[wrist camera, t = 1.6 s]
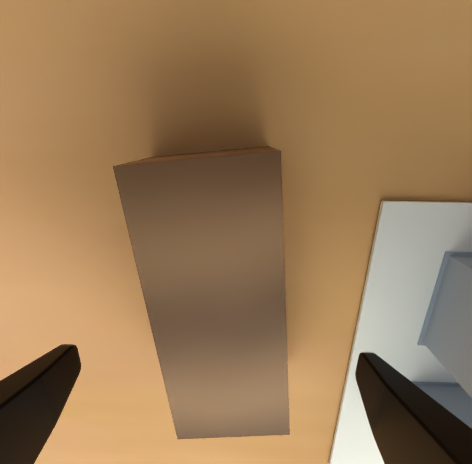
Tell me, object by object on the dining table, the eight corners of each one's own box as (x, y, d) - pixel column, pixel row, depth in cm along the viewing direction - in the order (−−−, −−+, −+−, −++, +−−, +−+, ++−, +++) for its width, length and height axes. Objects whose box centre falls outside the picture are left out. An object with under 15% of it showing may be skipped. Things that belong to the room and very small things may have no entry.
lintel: (277, 362, 16) (289, 434, 12) (192, 366, 16) (177, 439, 12) (267, 146, 12) (280, 151, 8) (153, 156, 12) (112, 166, 8)
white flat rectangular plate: (509, 469, 18) (513, 474, 18) (328, 463, 18) (329, 468, 18) (656, 205, 12) (666, 207, 12) (381, 200, 12) (384, 202, 12)
